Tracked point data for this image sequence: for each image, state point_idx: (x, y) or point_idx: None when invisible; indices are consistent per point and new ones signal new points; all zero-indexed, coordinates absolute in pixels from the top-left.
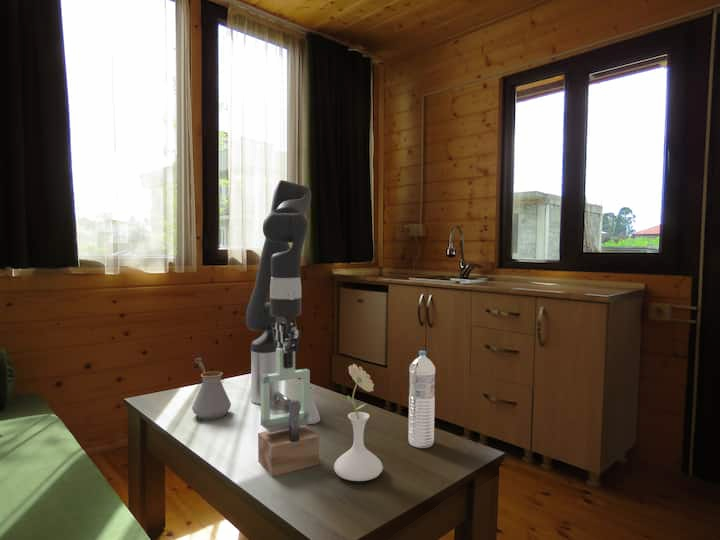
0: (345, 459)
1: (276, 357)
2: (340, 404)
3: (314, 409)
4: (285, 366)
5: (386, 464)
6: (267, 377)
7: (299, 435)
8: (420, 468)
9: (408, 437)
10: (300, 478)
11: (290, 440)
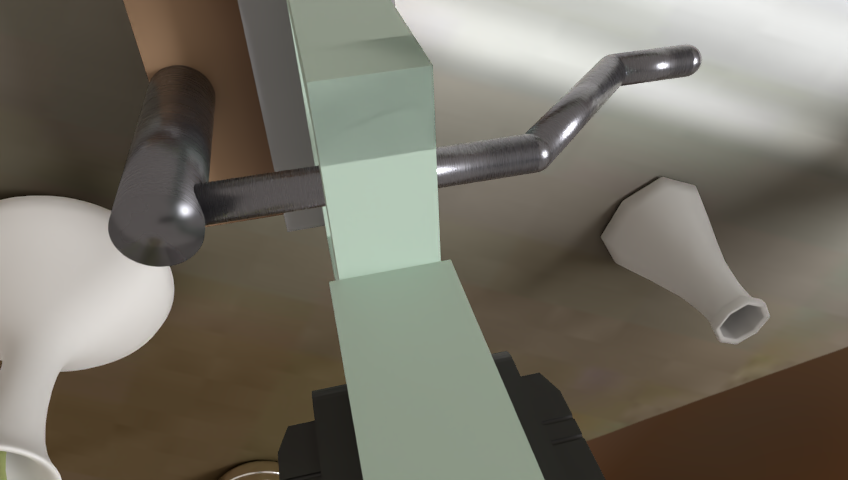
0: (14, 267)
1: (498, 416)
2: (706, 356)
3: (650, 274)
4: (317, 413)
5: (127, 368)
6: (316, 133)
7: (238, 138)
8: (66, 444)
9: (273, 476)
10: (76, 34)
11: (159, 70)
